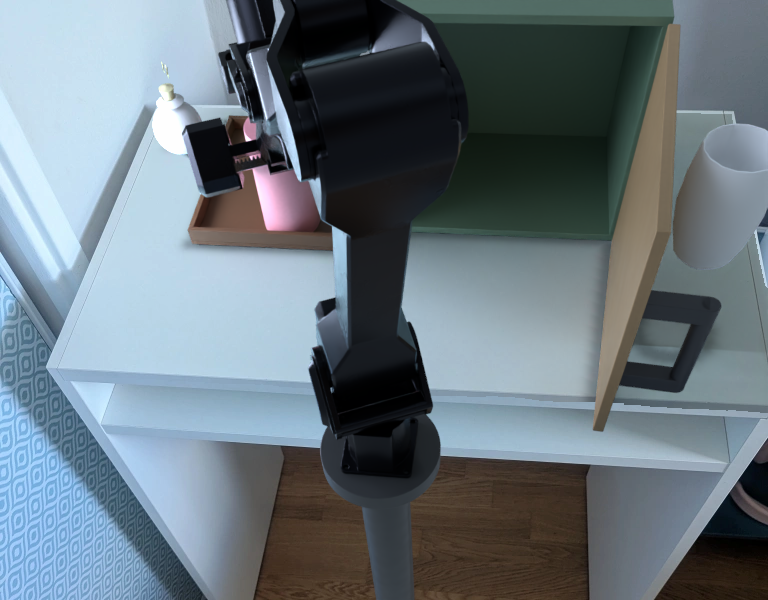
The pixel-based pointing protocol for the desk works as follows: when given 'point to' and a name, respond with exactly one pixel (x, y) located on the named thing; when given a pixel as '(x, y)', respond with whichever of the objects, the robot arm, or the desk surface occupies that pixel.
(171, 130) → the ornament
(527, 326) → the desk surface
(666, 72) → the cupboard door
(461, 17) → the cupboard
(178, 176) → the desk surface
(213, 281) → the desk surface
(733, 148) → the cup
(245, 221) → the tray
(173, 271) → the desk surface
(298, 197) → the cylindrical container
